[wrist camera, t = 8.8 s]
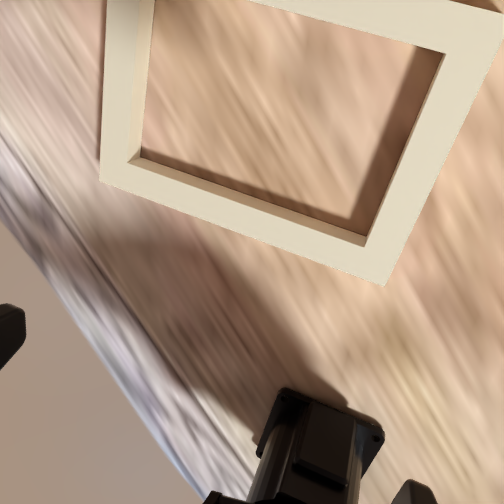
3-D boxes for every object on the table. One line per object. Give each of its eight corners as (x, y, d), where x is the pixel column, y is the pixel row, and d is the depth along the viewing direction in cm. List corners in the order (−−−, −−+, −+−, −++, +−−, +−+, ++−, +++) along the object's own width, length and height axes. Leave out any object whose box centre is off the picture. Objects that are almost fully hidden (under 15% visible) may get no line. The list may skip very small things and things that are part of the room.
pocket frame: (385, 274, 20) (384, 286, 19) (112, 174, 23) (98, 181, 22) (506, 18, 15) (513, 16, 14) (128, -77, 17) (111, -84, 16)
